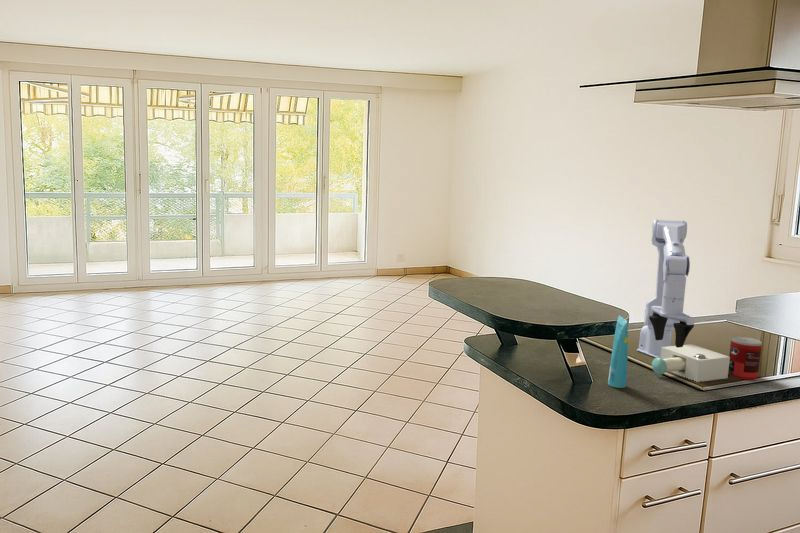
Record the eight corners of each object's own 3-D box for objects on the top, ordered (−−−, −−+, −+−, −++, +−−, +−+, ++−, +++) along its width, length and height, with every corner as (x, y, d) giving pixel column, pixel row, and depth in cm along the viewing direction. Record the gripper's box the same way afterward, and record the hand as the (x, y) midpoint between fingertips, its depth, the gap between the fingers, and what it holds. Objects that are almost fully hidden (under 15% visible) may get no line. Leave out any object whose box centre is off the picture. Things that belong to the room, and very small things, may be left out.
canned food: (730, 370, 188) (734, 335, 186) (760, 376, 183) (764, 340, 181) (724, 376, 182) (728, 339, 180) (755, 382, 177) (759, 345, 175)
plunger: (692, 367, 179) (694, 354, 178) (699, 366, 180) (700, 353, 179) (699, 370, 177) (701, 356, 176) (705, 369, 178) (707, 356, 177)
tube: (630, 390, 168) (636, 321, 165) (613, 390, 168) (619, 321, 165) (619, 380, 175) (625, 314, 172) (603, 380, 175) (608, 314, 172)
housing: (659, 367, 189) (661, 347, 188) (689, 363, 193) (691, 343, 192) (696, 382, 176) (698, 360, 175) (727, 378, 180) (729, 356, 179)
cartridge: (651, 371, 181) (652, 355, 181) (694, 366, 188) (695, 351, 187) (663, 376, 177) (665, 360, 176) (707, 371, 183) (708, 355, 182)
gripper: (643, 293, 182) (639, 337, 184) (682, 303, 169) (677, 351, 171) (662, 292, 185) (658, 336, 187) (702, 302, 171) (697, 349, 173)
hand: (668, 343), depth 179 cm, fingers open, 7 cm apart
